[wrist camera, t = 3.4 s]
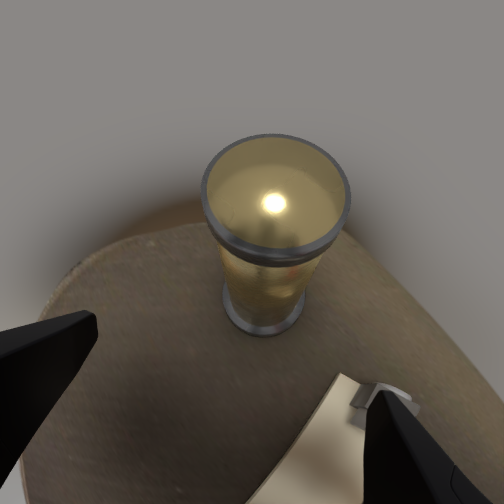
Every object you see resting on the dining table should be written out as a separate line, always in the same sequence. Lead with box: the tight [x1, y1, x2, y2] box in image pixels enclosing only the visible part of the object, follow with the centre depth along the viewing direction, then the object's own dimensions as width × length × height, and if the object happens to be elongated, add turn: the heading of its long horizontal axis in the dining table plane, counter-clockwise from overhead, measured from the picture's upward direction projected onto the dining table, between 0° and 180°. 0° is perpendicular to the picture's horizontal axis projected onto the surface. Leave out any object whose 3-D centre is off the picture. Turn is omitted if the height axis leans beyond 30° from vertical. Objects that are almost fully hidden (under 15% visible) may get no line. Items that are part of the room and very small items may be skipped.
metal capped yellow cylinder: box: [201, 134, 351, 337], centre depth 16 cm, size 6×6×13 cm
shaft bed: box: [245, 373, 421, 504], centre depth 14 cm, size 15×7×4 cm, turn 147°
